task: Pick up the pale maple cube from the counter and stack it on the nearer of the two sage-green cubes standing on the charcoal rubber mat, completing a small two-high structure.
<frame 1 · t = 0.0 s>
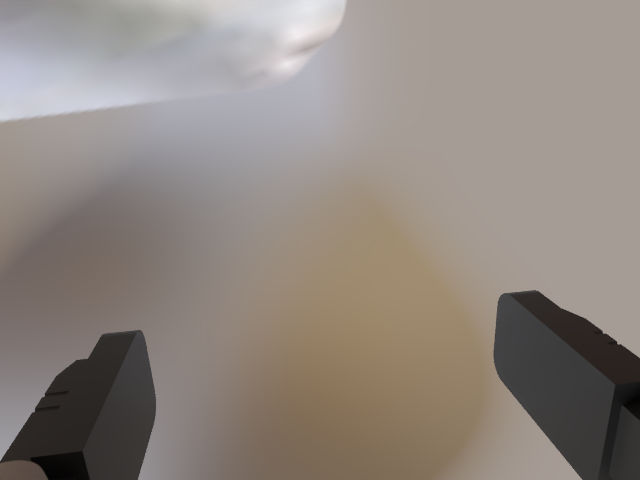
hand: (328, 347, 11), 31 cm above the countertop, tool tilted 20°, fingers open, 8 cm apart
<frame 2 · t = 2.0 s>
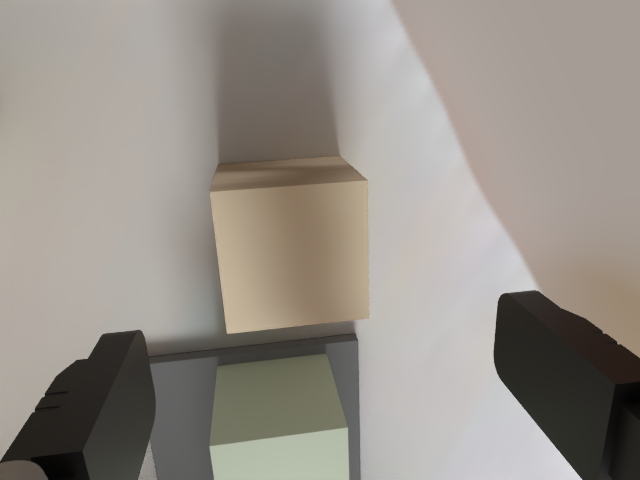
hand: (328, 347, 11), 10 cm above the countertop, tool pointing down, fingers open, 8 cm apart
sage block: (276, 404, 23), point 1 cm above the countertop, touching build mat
maple block: (283, 217, 21), on the countertop
build mat: (260, 448, 24), on the countertop
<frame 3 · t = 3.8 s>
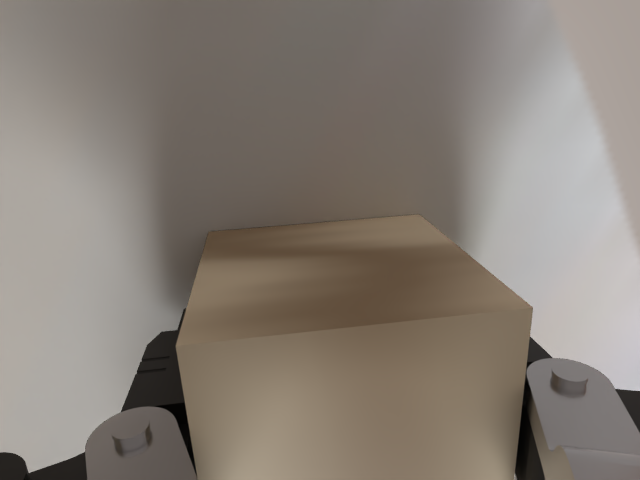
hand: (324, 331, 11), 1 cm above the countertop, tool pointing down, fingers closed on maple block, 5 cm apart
maple block: (321, 317, 12), on the countertop, touching gripper
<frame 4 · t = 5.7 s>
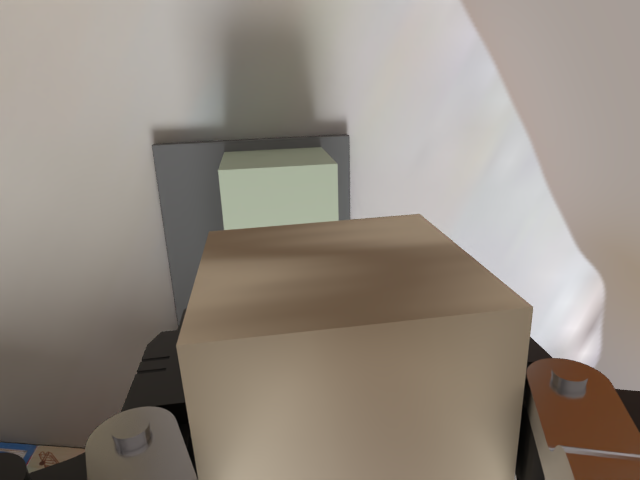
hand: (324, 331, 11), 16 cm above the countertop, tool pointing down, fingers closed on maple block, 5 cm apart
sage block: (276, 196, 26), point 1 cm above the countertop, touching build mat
maple block: (321, 317, 12), point 15 cm above the countertop, touching gripper
build mat: (261, 247, 27), on the countertop
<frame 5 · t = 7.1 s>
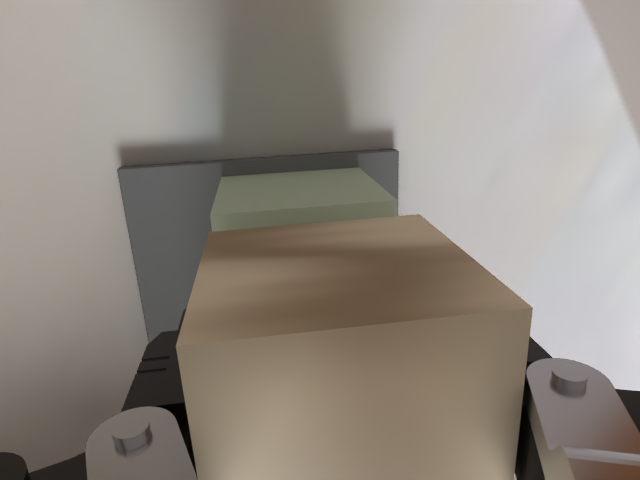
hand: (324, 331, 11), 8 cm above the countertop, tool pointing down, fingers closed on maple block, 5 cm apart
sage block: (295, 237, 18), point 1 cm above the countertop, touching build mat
maple block: (321, 317, 12), point 7 cm above the countertop, touching gripper
build mat: (274, 303, 20), on the countertop
when the fingers open (7 cm above the countertop, at t = 8.0 s): maple block drops 1 cm, resting on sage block.
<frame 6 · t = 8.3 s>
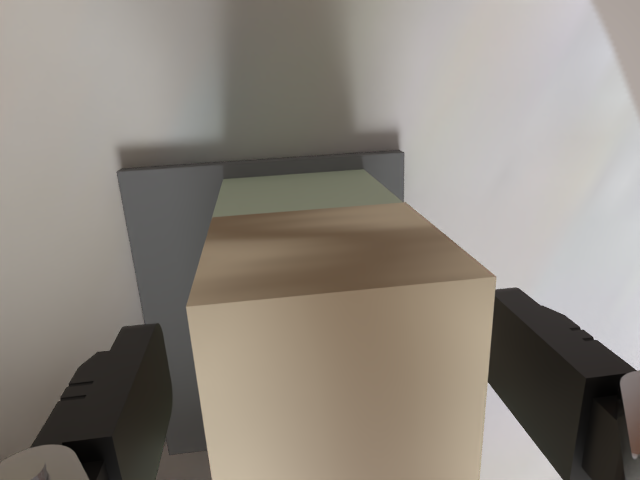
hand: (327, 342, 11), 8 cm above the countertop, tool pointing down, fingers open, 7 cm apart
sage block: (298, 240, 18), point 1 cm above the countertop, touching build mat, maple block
maple block: (315, 297, 13), point 6 cm above the countertop, touching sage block
build mat: (277, 308, 19), on the countertop
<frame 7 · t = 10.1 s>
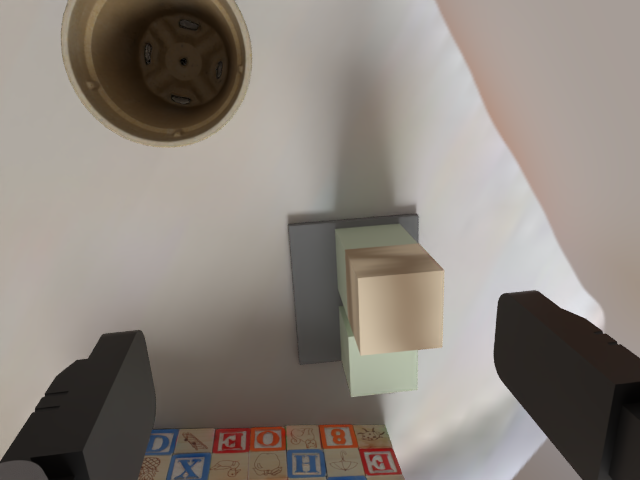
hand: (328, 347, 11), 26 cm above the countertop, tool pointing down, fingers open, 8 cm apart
stack of blocks: (267, 452, 43), on the countertop
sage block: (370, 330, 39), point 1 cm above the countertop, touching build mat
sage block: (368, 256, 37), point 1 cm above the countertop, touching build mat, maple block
maple block: (382, 281, 33), point 6 cm above the countertop, touching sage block
build mat: (355, 290, 39), on the countertop
flower pot: (186, 61, 33), on the countertop
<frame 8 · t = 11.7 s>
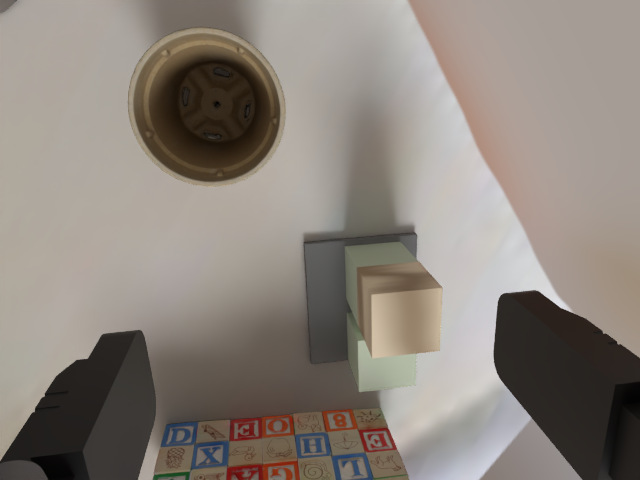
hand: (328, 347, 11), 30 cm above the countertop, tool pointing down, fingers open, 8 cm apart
stack of blocks: (277, 438, 49), on the countertop
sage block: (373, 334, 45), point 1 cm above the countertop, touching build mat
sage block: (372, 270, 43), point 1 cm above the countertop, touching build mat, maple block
maple block: (387, 293, 38), point 6 cm above the countertop, touching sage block
build mat: (361, 298, 44), on the countertop
flower pot: (218, 103, 38), on the countertop
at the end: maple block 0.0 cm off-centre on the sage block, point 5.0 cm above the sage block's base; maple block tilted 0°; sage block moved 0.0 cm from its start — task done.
